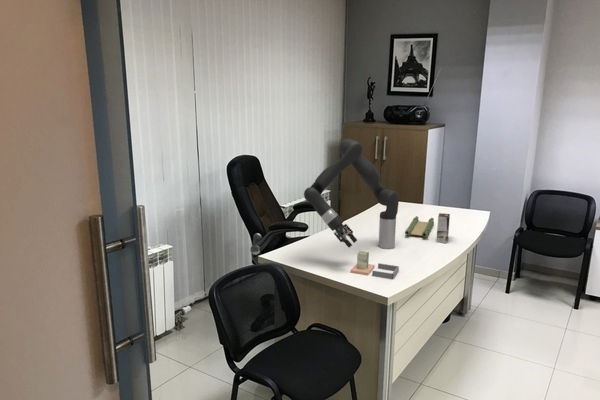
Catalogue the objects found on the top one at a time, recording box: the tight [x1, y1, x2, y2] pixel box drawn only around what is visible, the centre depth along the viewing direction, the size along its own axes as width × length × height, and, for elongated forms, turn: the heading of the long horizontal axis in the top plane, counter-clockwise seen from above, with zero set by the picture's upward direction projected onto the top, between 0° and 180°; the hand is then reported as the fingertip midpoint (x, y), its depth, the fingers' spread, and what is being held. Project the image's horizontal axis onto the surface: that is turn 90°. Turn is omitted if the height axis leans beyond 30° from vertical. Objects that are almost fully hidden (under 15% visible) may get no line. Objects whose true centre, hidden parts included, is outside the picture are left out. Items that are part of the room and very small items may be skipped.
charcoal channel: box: [371, 262, 400, 280], centre depth 221 cm, size 12×10×2 cm
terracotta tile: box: [349, 263, 376, 276], centre depth 226 cm, size 12×9×1 cm
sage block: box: [356, 250, 370, 270], centre depth 225 cm, size 4×4×8 cm
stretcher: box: [404, 216, 435, 238], centre depth 293 cm, size 41×14×5 cm, turn 157°
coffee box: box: [435, 213, 451, 244], centre depth 271 cm, size 9×6×16 cm
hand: (353, 244), depth 225 cm, fingers open, 8 cm apart
